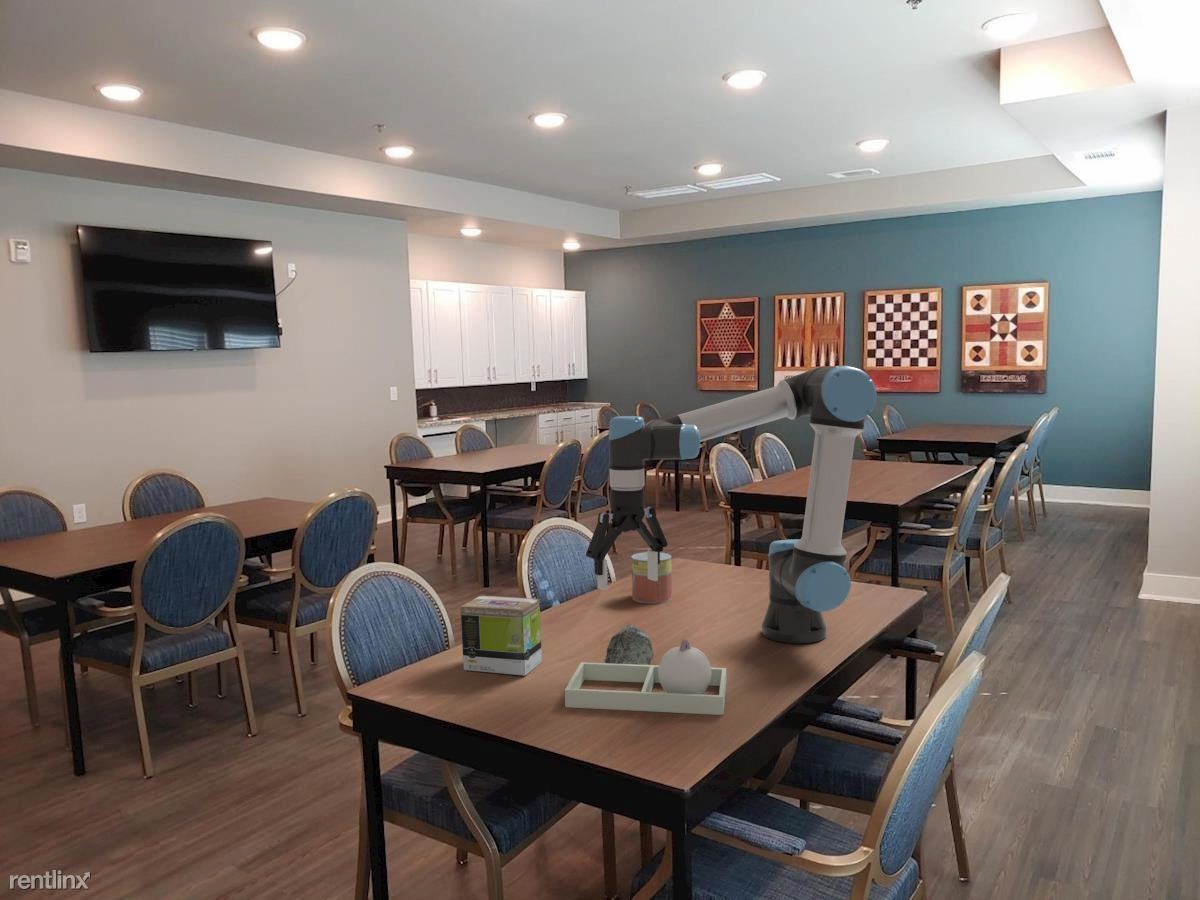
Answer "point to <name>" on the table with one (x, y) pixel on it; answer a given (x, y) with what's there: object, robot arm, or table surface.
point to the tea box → (501, 635)
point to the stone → (629, 647)
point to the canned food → (647, 588)
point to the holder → (645, 697)
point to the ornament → (684, 670)
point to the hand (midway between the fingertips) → (628, 584)
